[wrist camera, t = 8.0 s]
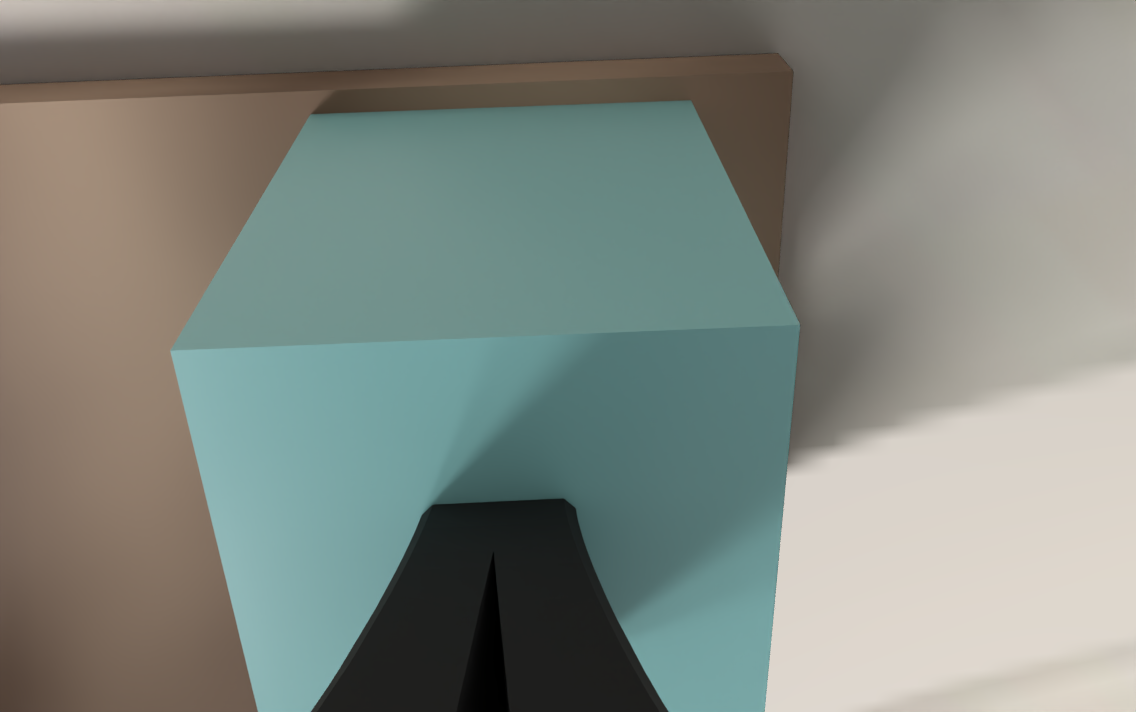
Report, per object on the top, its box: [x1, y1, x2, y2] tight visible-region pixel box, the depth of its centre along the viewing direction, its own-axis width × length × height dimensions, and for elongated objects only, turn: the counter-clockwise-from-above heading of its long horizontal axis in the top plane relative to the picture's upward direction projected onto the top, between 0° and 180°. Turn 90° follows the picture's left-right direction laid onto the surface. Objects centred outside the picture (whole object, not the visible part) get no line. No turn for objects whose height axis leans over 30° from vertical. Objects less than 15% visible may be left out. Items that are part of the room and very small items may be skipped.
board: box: [0, 53, 793, 712], centre depth 18 cm, size 15×12×1 cm
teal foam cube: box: [170, 100, 800, 712], centre depth 13 cm, size 5×5×7 cm
